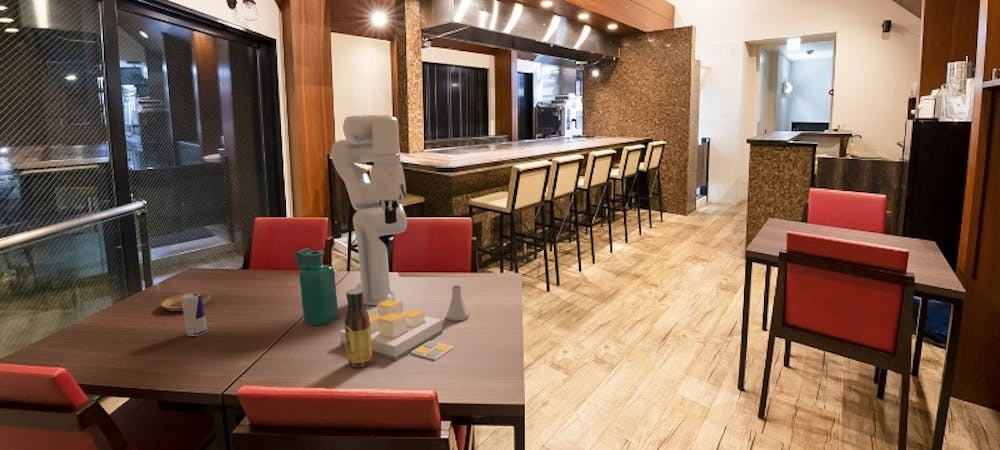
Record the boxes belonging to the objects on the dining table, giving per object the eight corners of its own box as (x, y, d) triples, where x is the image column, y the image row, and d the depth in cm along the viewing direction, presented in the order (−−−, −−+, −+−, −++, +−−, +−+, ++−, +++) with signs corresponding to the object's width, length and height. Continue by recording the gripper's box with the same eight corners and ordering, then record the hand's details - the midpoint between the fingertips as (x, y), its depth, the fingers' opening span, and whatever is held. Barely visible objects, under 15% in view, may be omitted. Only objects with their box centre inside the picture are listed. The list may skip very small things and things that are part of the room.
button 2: (378, 320, 160) (376, 304, 159) (390, 314, 164) (389, 298, 163) (391, 323, 157) (390, 307, 156) (403, 317, 162) (402, 301, 161)
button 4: (399, 331, 156) (398, 314, 155) (411, 324, 161) (410, 308, 160) (413, 334, 154) (412, 318, 153) (425, 328, 158) (424, 311, 157)
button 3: (379, 336, 149) (378, 318, 148) (392, 329, 154) (391, 312, 153) (393, 339, 147) (392, 322, 146) (406, 332, 151) (405, 315, 150)
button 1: (358, 336, 154) (357, 319, 153) (371, 329, 158) (370, 313, 157) (372, 339, 151) (370, 322, 150) (385, 332, 155) (384, 316, 154)
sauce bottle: (350, 358, 145) (344, 286, 140) (374, 357, 145) (369, 285, 141) (345, 370, 138) (339, 295, 134) (371, 368, 139) (365, 294, 134)
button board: (341, 344, 153) (340, 331, 152) (390, 320, 170) (389, 308, 169) (395, 360, 143) (394, 346, 142) (442, 332, 160) (441, 319, 159)
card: (411, 353, 147) (411, 351, 146) (430, 342, 153) (429, 339, 153) (435, 360, 142) (435, 357, 142) (453, 348, 149) (453, 345, 149)
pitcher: (341, 317, 173) (335, 249, 168) (322, 327, 166) (315, 256, 161) (317, 312, 177) (310, 246, 172) (297, 322, 170) (290, 253, 165)
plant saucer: (167, 318, 176) (166, 310, 175) (158, 306, 187) (156, 299, 186) (217, 306, 185) (216, 299, 185) (205, 296, 196) (204, 289, 196)
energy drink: (211, 331, 164) (206, 293, 162) (196, 338, 159) (190, 299, 157) (197, 329, 166) (192, 291, 163) (182, 336, 161) (176, 297, 159)
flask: (466, 322, 167) (464, 291, 165) (443, 321, 168) (441, 290, 166) (471, 313, 174) (470, 283, 172) (449, 312, 175) (448, 282, 173)
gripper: (358, 160, 158) (363, 223, 162) (398, 162, 151) (402, 228, 155) (376, 158, 164) (380, 218, 168) (415, 160, 157) (419, 222, 161)
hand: (391, 222), depth 161 cm, fingers closed
